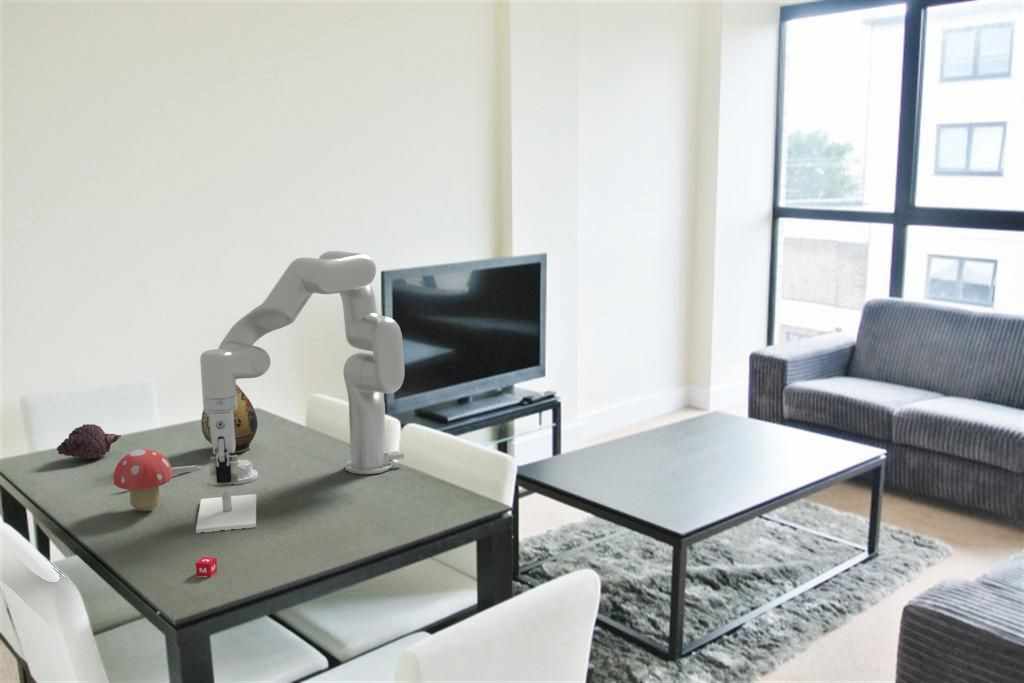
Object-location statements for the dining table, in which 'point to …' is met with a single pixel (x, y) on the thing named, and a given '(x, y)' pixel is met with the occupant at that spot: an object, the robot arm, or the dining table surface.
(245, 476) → the mechanical component
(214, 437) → the robot arm
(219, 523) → the pin board
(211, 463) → the pale green open box
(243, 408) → the ceramic jug
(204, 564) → the dice
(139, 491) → the decorative mushroom
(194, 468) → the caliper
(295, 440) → the dining table surface
